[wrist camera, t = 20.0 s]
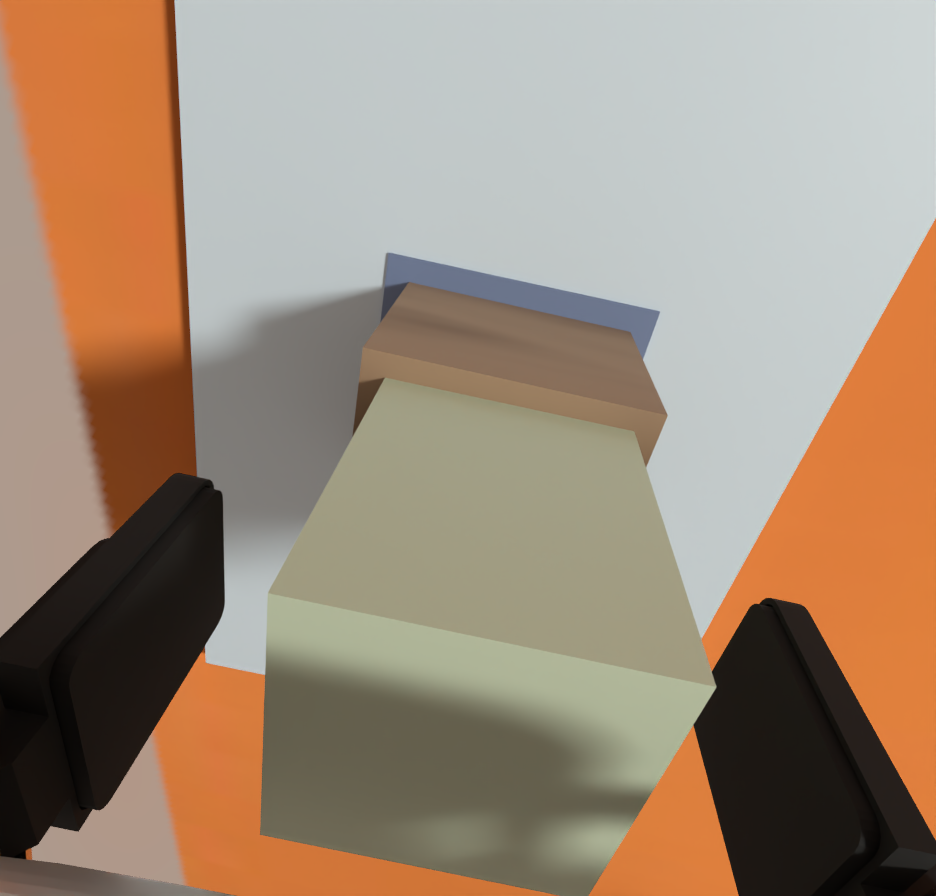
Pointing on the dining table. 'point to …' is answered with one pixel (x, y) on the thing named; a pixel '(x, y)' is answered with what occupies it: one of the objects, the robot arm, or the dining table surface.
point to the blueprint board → (544, 227)
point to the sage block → (478, 646)
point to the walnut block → (512, 361)
